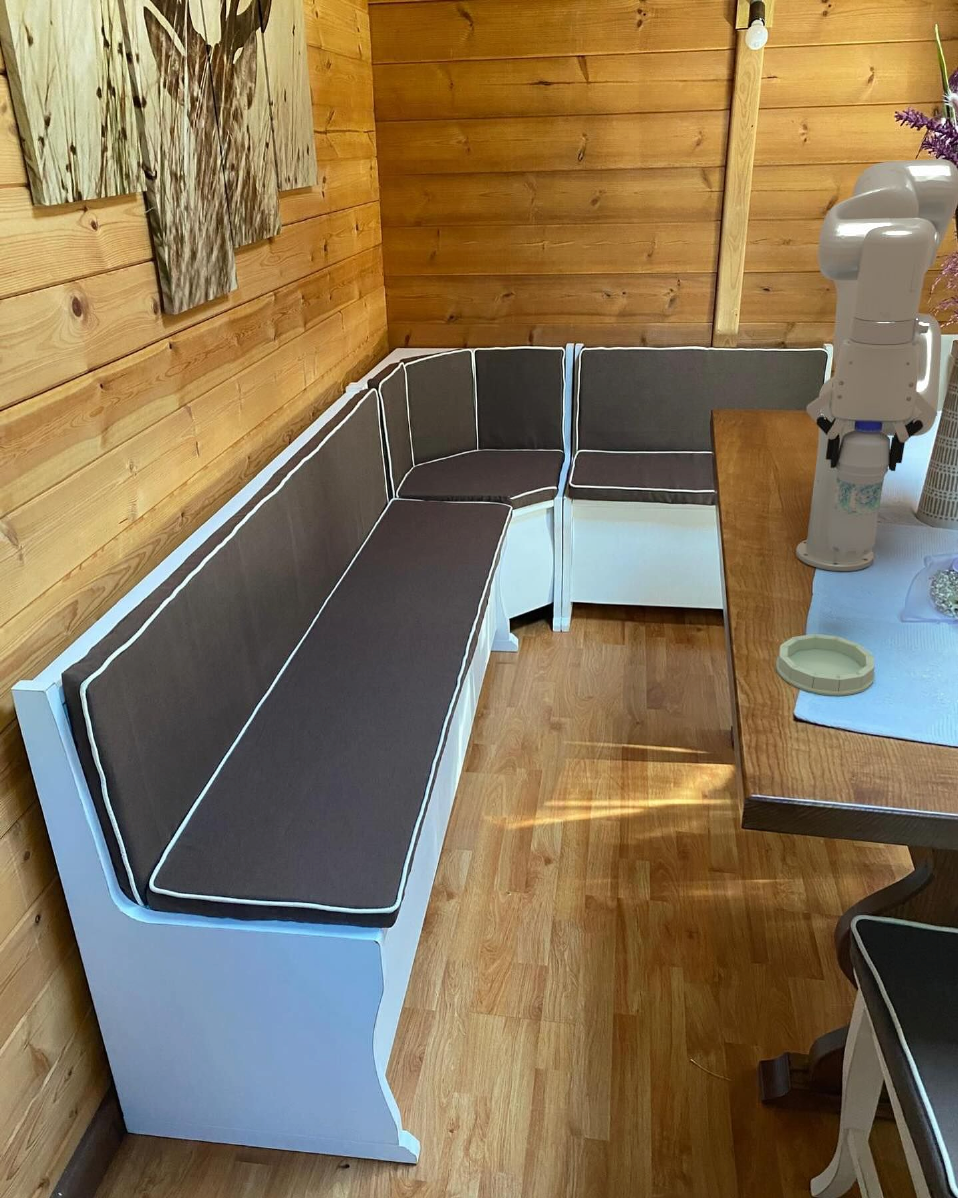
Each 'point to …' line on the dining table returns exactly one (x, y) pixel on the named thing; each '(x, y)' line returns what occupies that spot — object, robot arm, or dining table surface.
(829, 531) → the bottle
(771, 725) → the dining table surface
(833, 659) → the dish
